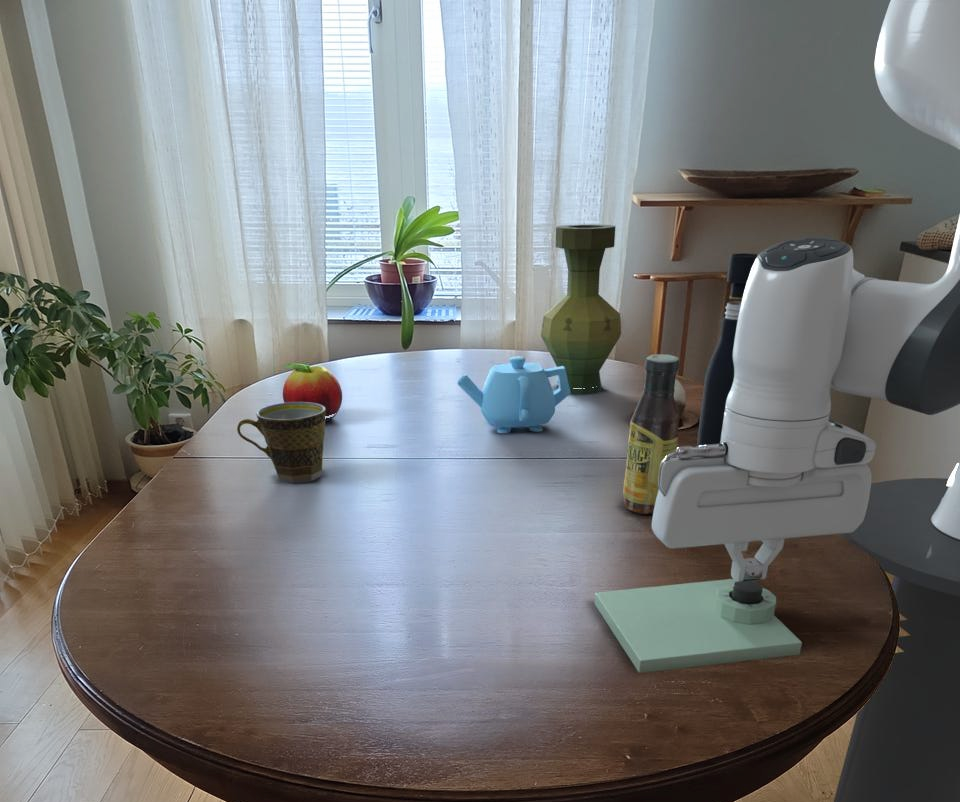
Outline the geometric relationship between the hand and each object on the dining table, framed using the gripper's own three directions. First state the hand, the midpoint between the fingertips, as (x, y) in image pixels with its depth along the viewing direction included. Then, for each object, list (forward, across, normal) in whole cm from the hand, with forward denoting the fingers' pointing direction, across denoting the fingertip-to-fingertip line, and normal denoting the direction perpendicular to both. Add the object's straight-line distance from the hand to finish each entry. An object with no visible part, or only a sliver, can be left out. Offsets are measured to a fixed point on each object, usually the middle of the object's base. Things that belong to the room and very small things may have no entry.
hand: (747, 578), depth 80 cm
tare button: (+2, 0, 0) cm, 2 cm away
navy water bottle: (+5, +16, +41) cm, 44 cm away
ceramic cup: (+5, -46, +56) cm, 73 cm away
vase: (+5, +12, +99) cm, 100 cm away
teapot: (+5, -7, +75) cm, 76 cm away
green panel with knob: (+5, -5, 0) cm, 7 cm away
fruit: (+5, -42, +88) cm, 98 cm away
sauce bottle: (+5, +2, +32) cm, 32 cm away
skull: (+5, +20, +72) cm, 75 cm away
